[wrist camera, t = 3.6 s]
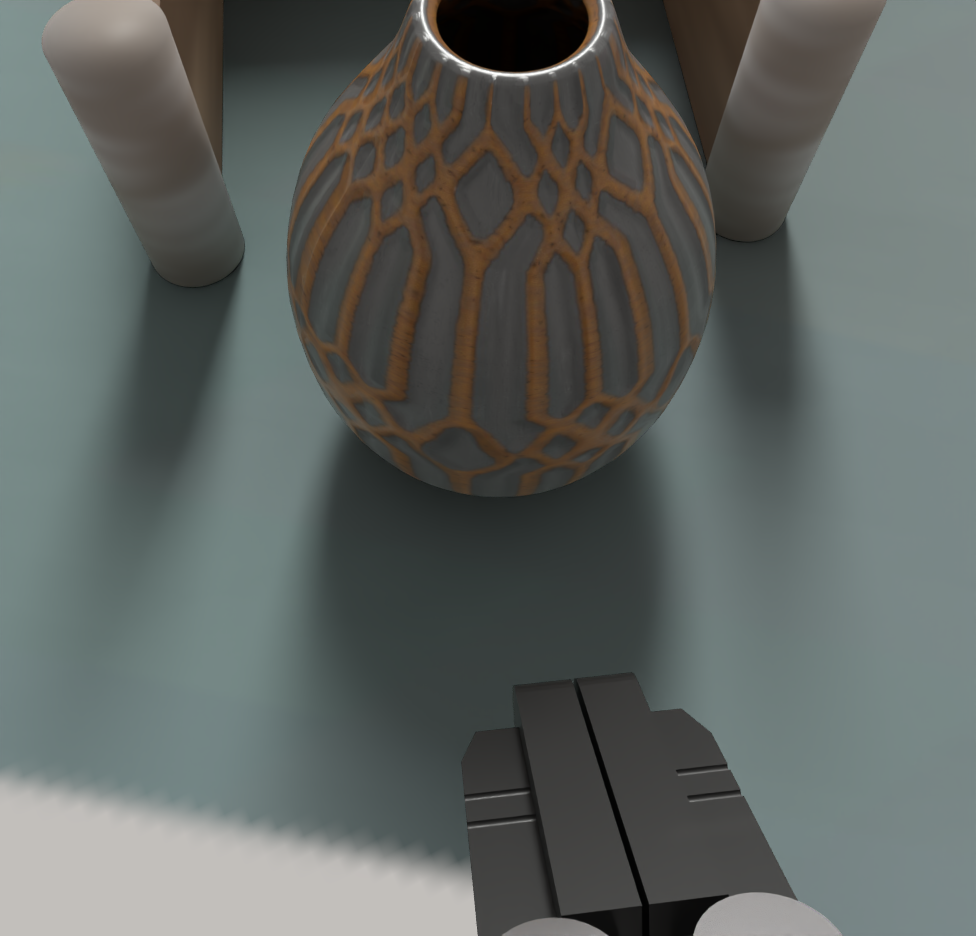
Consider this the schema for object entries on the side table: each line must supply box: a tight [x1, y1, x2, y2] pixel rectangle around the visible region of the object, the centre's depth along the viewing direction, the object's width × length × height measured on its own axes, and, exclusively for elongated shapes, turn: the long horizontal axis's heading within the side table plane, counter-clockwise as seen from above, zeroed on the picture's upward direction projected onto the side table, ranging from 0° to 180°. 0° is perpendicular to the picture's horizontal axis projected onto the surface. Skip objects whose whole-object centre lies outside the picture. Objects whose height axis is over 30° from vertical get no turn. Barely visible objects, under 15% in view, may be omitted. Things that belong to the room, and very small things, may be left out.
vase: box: [286, 0, 716, 497], centre depth 15 cm, size 7×7×9 cm
